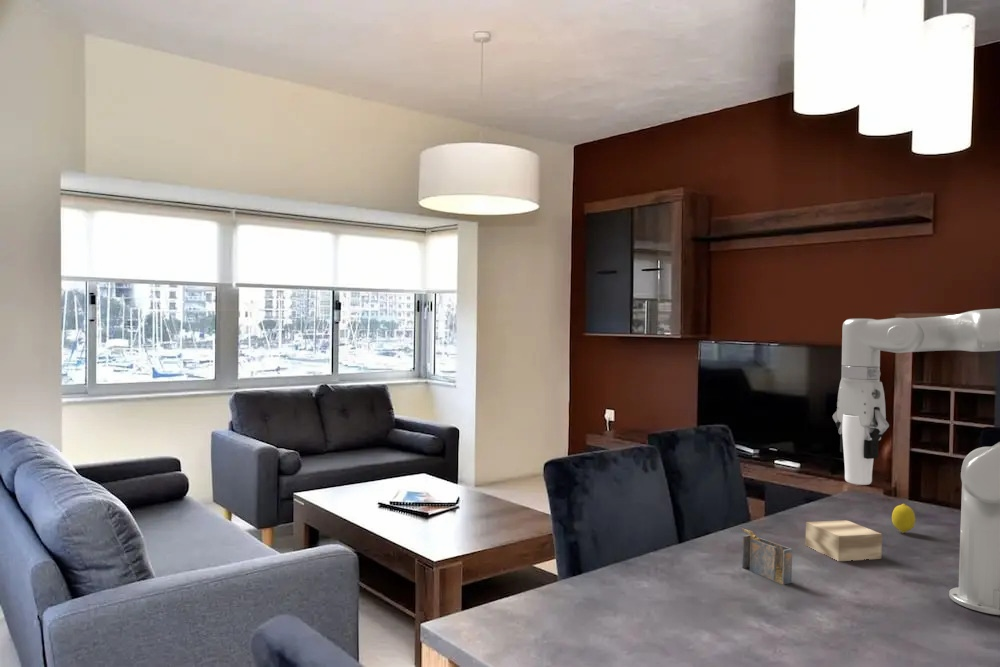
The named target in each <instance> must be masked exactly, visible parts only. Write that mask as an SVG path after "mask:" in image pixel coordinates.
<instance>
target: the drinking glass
mask: <svg viewBox="0 0 1000 667" xmlns="http://www.w3.org/2000/svg"><path fill="white" fill-rule="evenodd" d="M870 425H874V422H873V419H872V420H871V422H870ZM870 431H871V433H872V432H873V431H874V429H870ZM842 437H843V451H844V453H843V463H844V480H845V482H847V483H848V484H852V485H858V486H861V485H862V486H867V485H870V484H872V482H873V468H874V467H873V466H874V460H875V459H866V458H864V440H867V439H866V435H865V432H864V427H862V426H861V424H860V420H859V417H858V416H849V415H844V414H843V420H842Z"/></svg>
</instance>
